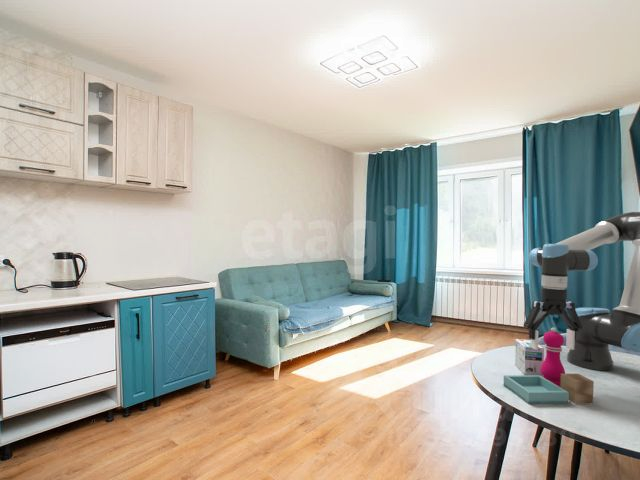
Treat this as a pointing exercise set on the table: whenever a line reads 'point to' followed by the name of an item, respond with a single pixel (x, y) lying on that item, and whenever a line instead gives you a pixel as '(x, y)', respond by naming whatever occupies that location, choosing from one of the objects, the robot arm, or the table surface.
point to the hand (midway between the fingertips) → (552, 348)
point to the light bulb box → (528, 357)
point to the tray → (536, 389)
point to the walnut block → (578, 388)
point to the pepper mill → (553, 357)
